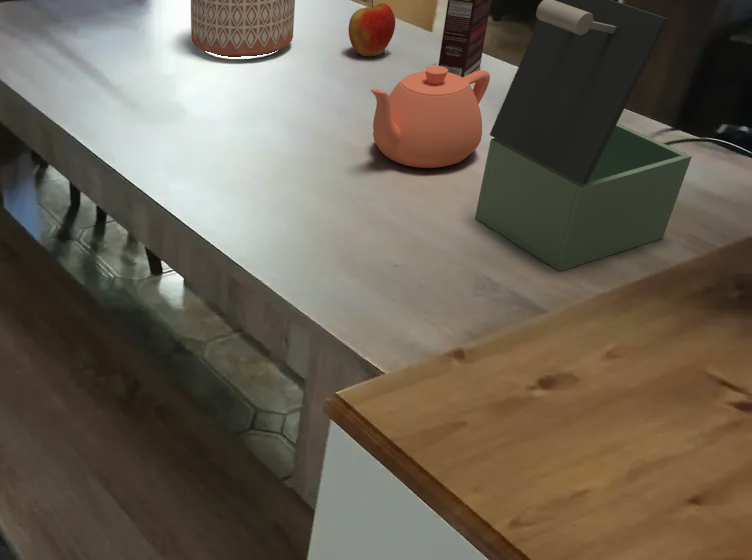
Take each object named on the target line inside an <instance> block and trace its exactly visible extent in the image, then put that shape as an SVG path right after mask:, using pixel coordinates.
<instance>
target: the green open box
mask: <svg viewBox="0 0 752 560" xmlns="http://www.w3.org/2000/svg"><path fill="white" fill-rule="evenodd" d="M691 160H692V155H690V154H688V153H685V152H684V151H681V150H679V149H676V148H675V147H672V146H670V145H668V144H665V143H663V142H661V141H659V140H658V139H657V140H656V139H654V138H652V137H650V136H648V135H646V134H644V133H641V132H639V131H637V130H635V129H633V128H630V127H628V126H625V125H623V124H621V123H619V122H617V124H616V126H615V128H614V130H613V132H612V134H611V136H610V138H609V140H608V142H607V144H606V146H605V148H604V150H603V152H602V154H601V156H600V158H599V160H598V162H597V164H596V166H595V168H594V170H593V172H592V174H591V176H590V178H589V180H588V182H587V184H581V183H579V182H577V181H575V180H573V179H571V178H569V177H568V176H566V175H564V174H562V173H560V172H558V171H556V170H554V169H553V168H551V167H549V166H547V165H545V164H543V163H541V162H539V161H537V160H536V159H534V158H532V157H530V156H528V155H526V154H524V153H522V152H521V151H519V150H517V149H515V148H513V147H511V146H509V145H507V144H505V143H504V142H502V141H500V140H498V139H496V138H494V137H492V138H491V139H490V142H489V147H488V152H487V157H486V162H485V166H484V171H483V176H482V181H481V186H480V191H479V195H478V201H477V205H476V210H475V215H474V219H476V220H478V222H481V223H483V225H485V226H487V227H489V228H490V229H492V230H494V231H495V232H497V233H498V234H500V235H501V236H503V237H504V238H506V239H508V240H509V241H511V242H512V243H514V244H515V245H517V246H518V247H520V248H522V249H523V250H525V251H526V252H528V253H530V254H531V255H533V256H534V257H536V258H538V259H539V260H541V261H542V262H543V263H545V264H547V265H549V266H550V267H552V268H554V269H555V270H556V271H557V272H561V271H562V272H563V271H566V270H568V269H572V268H575V267H577V266H581V265H584V264H587V263H590V262H594V261H597V260H600V259H602V258H606V257H609V256H612V255H615V254H618V253H621V252H625V251H627V250H630V249H634V248H637V247H641V246H643V245H647V244H650V243H652V242H655V241H658V240H662V239H664V235H665V233H666V230H667V227H668V225H669V221H670V219H671V216H672V213H673V210H674V207H675V205H676V201H677V199H678V196H679V193H680V190H681V188H682V185H683V182H684V180H685V177H686V174H687V171H688V169H689V166H690V163H691Z"/></svg>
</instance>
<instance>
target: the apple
mask: <svg viewBox="0 0 752 560" xmlns="http://www.w3.org/2000/svg"><path fill="white" fill-rule="evenodd" d="M395 30H396V17H395V14H394V12H393V10H392V7H390V6H389V5H388V4H387V3H383V2H382V3H376V4H374V0H371V6H366V7H363V8H358V9H357V10H356V11H354V13H352V15H351V16H350V19H349V23H348V37H349V38H348V39H349V41H350V44H351V46H352V48H353V49H354V51H355V52H356V53H357V54H358V55H361V56H363V57H375V56H377V55H380V54H381V53H383V52H384V50H386V48H387V47H388V45H389V44H390V42H391V41H392V39H393V36H394V33H395Z"/></svg>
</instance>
